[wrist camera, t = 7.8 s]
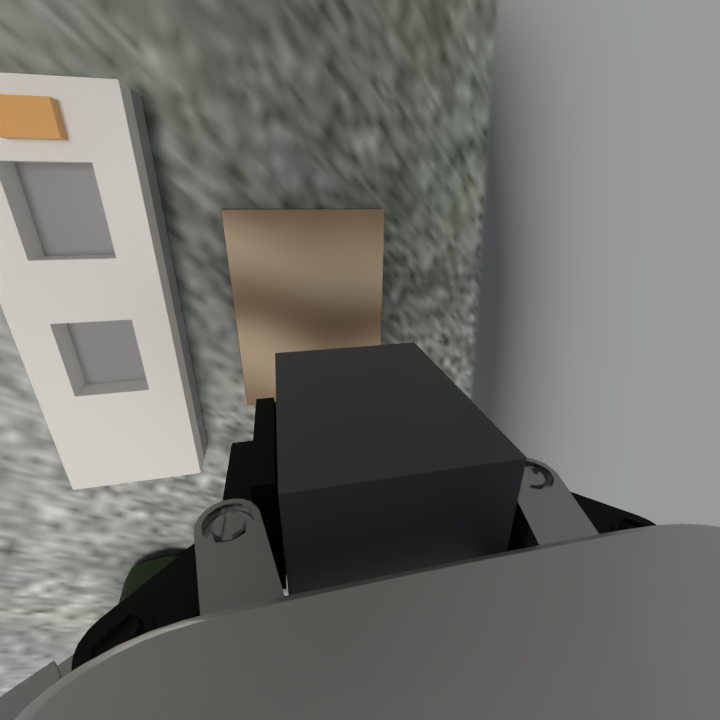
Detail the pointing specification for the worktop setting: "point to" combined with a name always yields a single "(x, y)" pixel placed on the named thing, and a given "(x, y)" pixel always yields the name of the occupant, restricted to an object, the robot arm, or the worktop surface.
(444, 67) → the worktop surface
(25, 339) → the power strip
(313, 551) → the block
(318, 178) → the worktop surface
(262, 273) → the cork pad
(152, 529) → the worktop surface
